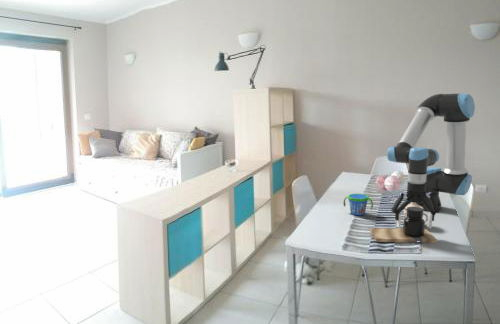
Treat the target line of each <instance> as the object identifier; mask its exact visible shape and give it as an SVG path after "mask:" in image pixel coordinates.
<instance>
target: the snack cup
mask: <svg viewBox="0 0 500 324" xmlns="http://www.w3.org/2000/svg"><path fill="white" fill-rule="evenodd" d="M347 199H348V202H349V207H350V209H349V210H350V213H351V215H353V216H364V215H366V211H367V205H368V201H370V204H371V206H370V210H371V211H372V209H373V207H374V203H373V200H372V199H371V198H370V197H369V195H367V194H363V193H350V194H348V195H347V196H346V197H344V200H343V207H346V200H347Z"/></svg>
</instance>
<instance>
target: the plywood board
mask: <svg viewBox="0 0 500 324" xmlns="http://www.w3.org/2000/svg"><path fill="white" fill-rule="evenodd" d="M369 232H370V234H371V236H372V237H373V239H374V240H375V242H377V243H408V242H417V241H420V242H421V243H420V244H422V243H423V244H438V239H437V238H436V237H435V236H434V235H433V234H432V233H431V232H430V231H429V230H428V229H426V228H425V229H424V236H421V237H411V236H408V235H406V234H404V233H403V228H386V227H385V228H383V227H382V228H379V227H377V228H375V227H370V228H369Z"/></svg>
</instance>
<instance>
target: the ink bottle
mask: <svg viewBox="0 0 500 324" xmlns="http://www.w3.org/2000/svg"><path fill="white" fill-rule="evenodd" d="M423 213H424V211H423V209H422V208H419V207H408V208H407V217H406V218H404V217H403V219H404V223H403V222H402V223H403V224H402V229H403V233H404V234H406V235H408V236H411V237H421V236H424V229H426V228H425V227H426V222H425V220H424V219H423V217H424V215H423Z"/></svg>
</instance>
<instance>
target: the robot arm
mask: <svg viewBox="0 0 500 324" xmlns="http://www.w3.org/2000/svg"><path fill="white" fill-rule="evenodd" d="M475 109H476V107H475V100H474V97H473V96H472V95H471V94H468V93H437V94H433V95H431V96H430V97H427V98H425V99H424V100H423V101H422V102H421V103H420V104H419V105H418V106H417V107H416V109H415V111H414V116H413V118H412V120H411V122H410V123H409V125H408V127H407V128H406V129H405V131H404V133H403V135H402V136H401V138H400V139H399V142H398V143H397V144H396V146H395V145H394V146H390V147H388V149H387V150H386V157H387V160H388V161H389V162H393V163H397V164H398V163H400V164H408V174H407V181H408V182H407V189H406V192H402V191H400V192H399V195H398V197H397V199H396V201H395V203H394V204H393V205H392V208H391V209H390V211H391V212H392V213H393V214H395V215H394V219H395V221H396V227H397V229H401V220H402V219H401V218H402V214H401V212H402V211H404V208H405V207H406V206H407V205H409V204H412V203H416V204H417V205H419V206H421V207H423V209H424V210H423V212H424V211H425V212H428V214H427V215H428V221H427V225H426V226H427V228H428V229H432V225H433V222H434V221H435V216H436V214H440V211H442V203H441V199H440V193H444V194H451V195H454V196H465V195H466V194H468V192H469V190H470V187H471V184H472V179H473V178H472V177H473V176H472V174H470V173H468V172H469V170H468V169H467V168H466V167H465V161H466V160H465V159H466V139H467V138H466V137H467V135H466V134H467V123H468V122H470V119H471V118H473V117H474V114H475ZM437 117H440V118H441V117H442V118H443V122H445V124H446V154H445V155H446V156H445V157H446V159H445V163H446V164H445V165H446V166H445V167H444V168H441V167H437V166H433V165H435V164H437V163H438V161H439V160H440V153H439V152H438V151H437V150H436V149H433V148H427V147H422V146H420V147H419V146H417V147H416V145H417V144H418V142H419V140H420V138H421V137H422V135H423V133H424V131H425V130H426V128H427V126H428V125H429V123H430V122H431V121H433V120H434V119H435V118H437ZM442 169H443V170H442ZM405 197H406V198H405ZM404 198H405V199H404ZM403 200H404V201H403Z"/></svg>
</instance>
